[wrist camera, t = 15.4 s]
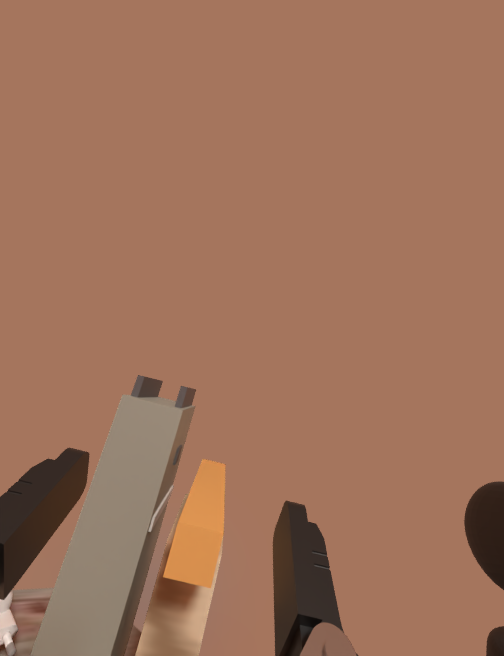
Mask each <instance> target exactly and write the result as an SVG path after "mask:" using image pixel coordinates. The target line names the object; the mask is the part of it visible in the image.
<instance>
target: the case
mask: <svg viewBox="0 0 504 656" xmlns="http://www.w3.org/2000/svg"><path fill="white" fill-rule="evenodd" d="M161 385H162V381H160V380H156V379H152V378H148V377H144V376H140V375H138V377H137V380H136V383H135V385H134V388H133V391H132V394H131V395H122V398H121V401H120V404H119V406H118V409H117V412H116V415H115V418H114V421H113V423H112V426H111V429H110V432H109V435H108V438H107V440H106V443H105V446H104V449H103V452H102V454H101V457H100V460H99V463H98V466H97V468H96V471H95V474H94V477H93V480H92V483H91V486H90V488H89V491H88V494H87V497H86V500H85V502H84V505H83V508H82V511H81V514H80V517H79V519H78V522H77V525H76V528H75V531H74V533H73V536H72V539H71V542H70V545H69V548H68V550H67V553H66V556H65V559H64V562H63V564H62V568H61V570H60V573H59V576H58V579H57V581H56V584H55V587H54V590H53V593H52V596H51V598H50V601H49V604H48V607H47V610H46V612H45V615H44V618H43V621H42V624H41V627H40V629H39V632H38V635H37V638H36V641H35V644H34V646H33V649H32V652H31V655H30V656H124V654H125V650H126V647H127V643H128V640H129V636H130V633H131V629H132V626H133V622H134V619H135V615H136V612H137V608H138V605H139V601H140V598H141V594H142V591H143V587H144V584H145V580H146V577H147V573H148V570H149V566H150V563H151V559H152V556H153V552H154V548H155V545H156V542H157V538H158V535H159V531H160V528H161V524H162V521H163V517H164V514H165V510H166V507H167V503H168V500H169V498H170V496H171V493H172V490H173V482H174V479H175V475H176V472H177V468H178V465H179V461H180V458H181V454H182V451H183V447H184V444H185V440H186V437H187V433H188V430H189V426H190V423H191V419H192V416H193V412H194V409H195V406H192V402H193V398H194V395H195V392H196V390H195V389H191V388H188V387H183V386H181V388H180V391H179V394H178V398H177V401H172V400H169V399H165V398H160V397H158V394H159V391H160V388H161Z"/></svg>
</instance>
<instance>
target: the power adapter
mask: <svg viewBox="0 0 504 656" xmlns="http://www.w3.org/2000/svg"><path fill="white" fill-rule="evenodd" d="M12 596H13V592H12V590H11V592H10V593H9V594H8V596H7V597H6V598H5V600H1V599H0V645H3V644H5V647H6V652H7V655H8V656H13V655H14V654H15V652H16V647H15V645H14V642H13V640H12V638H13V636H14V635H15V634H16V633H17V631H18V628H17V625H16V622H15V620H14V617H13V615H12V612H11V610H10V605H11V602H12Z"/></svg>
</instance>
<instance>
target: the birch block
mask: <svg viewBox="0 0 504 656" xmlns="http://www.w3.org/2000/svg"><path fill="white" fill-rule="evenodd" d="M188 495H189V494H186V496H185V498H184V500H183V503H182V505H181V508H180V510H179V513H178V515H177V517H176V520H175V522H174V525H173V527H172V530H171V532H170V535H169V537H168V540H167V543H166V547H165V550H164V554H163V558H162V561H161V565H160V569H159V572H158V576H157V579H156V583H155V586H154V590H153V594H152V597H151V601H150V604H149V608H148V612H147V615H146V619H145V622H144V626H143V630H142V633H141V637H140V640H139V644H138V648H137V651H136V655H135V656H198V655H199V650H200V646H201V642H202V638H203V633H204V629H205V625H206V620H207V616H208V612H209V607H210V603H211V599H212V594H213V590H214V586H215V581H216V577H217V573H218V569H219V564H220V560H221V555H222V544H223V538H222V543H221V547H220V551H219V555H218V560H217V564H216V568H215V573H214V577H213V581H212V585H211V588H207V587H203V586H199V585H194V584H190V583H186V582H182V581H177V580H173V579H169V578H165V577H163V575H164V571H165V568H166V564H167V560H168V557H169V553H170V549H171V546H172V542H173V538H174V535H175V531H176V527H177V524H178V521H179V518H180V516H181V513H182V511H183V508H184V505H185V503H186V500H187V498H188Z"/></svg>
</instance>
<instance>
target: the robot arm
mask: <svg viewBox="0 0 504 656" xmlns="http://www.w3.org/2000/svg"><path fill="white" fill-rule="evenodd" d="M88 463H89V453H88V452H85V451H81V450H77V449H73V448H67V449H66V450H65V451H64V452H63V453H62V454H61V455H60V456H59V457H58V458H57V459H56V460H52V459H46V460H45V461H43V462H41V463H39V464H37V465H36V466H34V467H32V468H31V469H30V470H29V471H28V472H27V473H25V474H24V475H23V476H22V477H21V478H20V479H19V481H18V482H16V483H15V484H14V485H13V486H12V487H11V488H9V489H8V491H7V492H6V493H4V494H3V495H2V496H1V497H0V599H1V600H5V598H6V597H7V596H8V594H9V593H10V592H11V590H12V589H13V588H14V586H15V585H16V583H17V582H18V581H19V579H20V578H21V577H22V575H23V574H24V573H25V571H26V570H27V569H28V567H29V566H30V565H31V563H32V562H33V561H34V559H35V558H36V557H37V555H38V554H39V553H40V551H41V550H42V549H43V547H44V546H45V545H46V543H47V542H48V540H49V539H50V537H51V536H52V535H53V534H54V532H55V531H56V530H57V528H58V527H59V526H60V524H61V523H62V522H63V520H64V519H65V518H66V516H67V515H68V513H69V512H70V511H71V510H72V508H73V507H74V505H75V504H76V503H77V501H78V500H79V499H80V497H81V495H82V493H83V491H84V489H85V486H86V482H87V474H88ZM465 532H466V536H467V540H468V543H469V546H470V548H471V550H472V553H473V555H474V557H475V558H476V560H477V562H478V563H479V565H480V566H481V568H482V569H483V570H484V572H485V573H486V574H487V575H488V576H489V577H490V578H491V579H492V581H493V582H494V583H495V584H497V585H498V586H499V587H500V588H502V589H503V590H504V482H492V483H488V484H486V485H484V486H482V487H481V488H479V489H478V490H477V491H476V492H475V493H474V494H473V496H472V497H471V499H470V501H469V503H468V505H467V508H466V513H465ZM329 567H330V566H329V561H328V557H327V552H326V546H325V541H324V538H323V536H322V534H321V532H320V530H319V528H318V527H317V525H316V524H315V523H311V522H308V520H307V513H306V508H305V506H304V505H302V504H298V503H294V502H289V501H286V502H285V503H284V506H283V508H282V512H281V514H280V516H279V519H278V522H277V525H276V528H275V532H274V537H273V576H274V619H275V656H358V655H357V654H356V653H355V650H354V648H353V646H352V644H351V642H350V641H349V639H348V638H347V636H346V635H345V634H344V632H343V629H342V626H341V622H340V617H339V612H338V607H337V601H336V596H335V591H334V586H333V581H332V577H331V571H330V570H329ZM486 652H487V655H486V656H504V626H503V627H498V628H495V629H493V630H492V631H491V632H490V633H489V636H488V639H487V651H486Z"/></svg>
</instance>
